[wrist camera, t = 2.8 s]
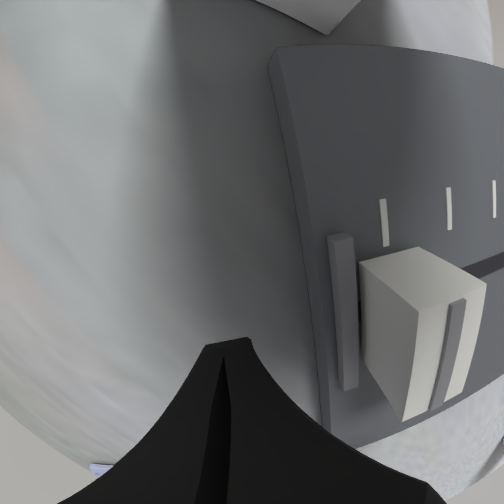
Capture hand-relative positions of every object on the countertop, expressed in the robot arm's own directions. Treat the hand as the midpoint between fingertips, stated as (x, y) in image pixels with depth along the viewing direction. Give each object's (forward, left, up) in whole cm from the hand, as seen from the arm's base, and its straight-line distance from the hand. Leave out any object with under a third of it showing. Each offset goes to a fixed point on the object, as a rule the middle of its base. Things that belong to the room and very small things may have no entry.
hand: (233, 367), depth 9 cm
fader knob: (0, -6, -1) cm, 6 cm away
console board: (0, -10, -3) cm, 11 cm away
